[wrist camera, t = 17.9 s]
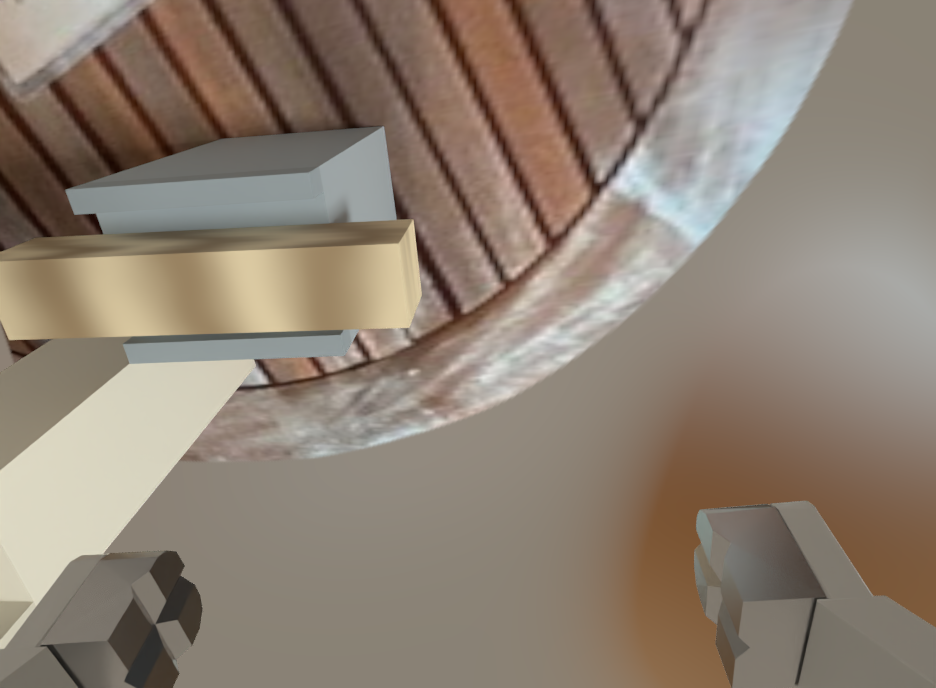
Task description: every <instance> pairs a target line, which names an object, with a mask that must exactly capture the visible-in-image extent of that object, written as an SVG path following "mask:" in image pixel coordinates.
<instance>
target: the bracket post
mask: <svg viewBox="0 0 936 688" xmlns="http://www.w3.org/2000/svg"><path fill="white" fill-rule="evenodd" d="M131 337H133V336H127V337H95V338H63V339H52V340H50V341H49V342H47V343H46V344H44V345H42V346H41V347H39V348H38V349H36V350H35V351H33V352H31V353H30V354H28V355H27V356H25V357H24V358H22V359H20V360H19V361H17V362H16V363H14V364H13V365H11V366H10V367H8V368H6V369H5V370H3V371H2V372H0V649H4V648H5V647H6V646H7V644H8V643H9V642H10V640H11V639H12V638H13V637H14V635H15V634H16V633H17V631H18V630H19V629H20V627H21V626H22V625H23V623H24V622H25V621H26V619H27V618H28V617H29V615H30V614H31V613H32V611H33V610H34V609H35V607H36V606H37V605H38V603H39V602H40V601H41V599H42V598H43V597H44V596H45V594H46V593H47V592H48V590H49V589H50V588H51V586H52V585H53V584H54V582H55V581H56V580H57V578H58V577H59V576H60V574H61V573H62V572H63V570H64V569H65V568H66V566H67V565H68V564H69V562H71V561H73V560H74V559H76V558H78V557H79V556H81V555H95V554H103V553H104V552H105V550H106V549H107V548H108V547H109V545H110V544H111V543H112V542H113V541H114V539H115V538H116V537H117V536H118V534H119V533H120V532H121V531H122V529H123V528H124V527H125V526H126V525H127V523H128V522H129V521H130V520H131V519H132V517H133V516H134V515H135V514H136V512H137V511H138V510H139V509H140V507H141V506H142V505H143V504H144V502H145V501H146V500H147V499H148V498H149V496H150V495H151V494H152V493H153V492H154V490H155V489H156V488H157V487H158V485H159V484H160V483H161V482H162V480H163V479H164V478H165V477H166V475H167V474H168V473H169V472H170V471H171V469H172V468H173V467H174V466H175V464H176V463H177V462H178V461H179V460H180V458H181V457H182V456H183V455H184V453H185V452H186V451H187V450H188V449H189V447H190V446H191V445H192V444H193V442H194V441H195V440H196V439H197V437H198V436H199V435H200V434H201V433H202V431H203V430H204V429H205V428H206V426H207V425H208V424H209V423H210V421H211V420H212V419H213V418H214V417H215V415H216V414H217V413H218V412H219V410H220V409H221V408H222V407H223V405H224V404H225V403H226V402H227V401H228V399H229V398H230V397H231V396H232V394H233V393H234V392H235V391H236V390H237V388H238V387H239V386H240V385H241V383H242V382H243V381H244V380H245V378H246V377H247V376H248V375H249V374H250V372H251V371H252V370H253V369H254V367H255V366H256V365H255V361H254V359H245V360H219V361H193V362H166V363H140V364H130V363H129V360H128V358H127V355H126V352H125V350H124V347H123V343H125V342H126V341H127V340H129V339H130V338H131Z"/></svg>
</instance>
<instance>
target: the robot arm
mask: <svg viewBox="0 0 936 688" xmlns="http://www.w3.org/2000/svg"><path fill="white" fill-rule="evenodd" d="M696 530H697V533H698V535H699V538H700V540H701V544H700V545H699V546H698V547H697V548H696V549H695V553H694V555H695V556H694V569H695V577H696V584H697V589H698V593H699V596H700V601H701V603H702V606H703V609H704V612H705V615H706V616H707V617H708V618H709V619H710V620H712V621H713V622H714V623H715V624H717V633H716V647H717V649H718V652H719V655H720V658H721V660H722V663H723V666H724V669H725V671H726V674H727V677H728V680H729V683H730V685H731V688H936V628H935V627H934V626H932V625H931V624H929V623H927V622H926V621H924V620H923V619H921V618H919V617H918V616H916V615H915V614H913V613H912V612H910V611H908V610H907V609H905V608H904V607H902V606H901V605H899V604H897V603H896V602H894V601H893V600H891V599H890V598H888V597H886V596H873V595H872V593H871V592H870V590H869V589H868V588H867V586H866V584H865V583H864V581H863V580H862V578H861V577H860V575H859V574H858V572H857V570H856V569H855V568H854V566H853V564H852V563H851V561H850V560H849V558H848V557H847V556H846V554H845V552H844V551H843V549H842V548H841V546H840V545H839V543H838V542H837V540H836V538H835V537H834V536H833V534H832V532H831V531H830V529H829V528H828V526H827V525H826V523H825V522H824V520H823V519H822V517H821V516H820V514H819V512H818V511H817V509H816V508H815V506H814V505H812V504H811V503H809V502H808V501H798V502H787V503H774V504H770V505H768V504H761V505H749V506H738V507H726V508H714V509H703V510H699V513H698V515H697V523H696ZM184 567H185V565H184V563H183V562H182V560H181V558H180V557H179V555H178V554H177V552H176V551H147V552H128V553H110V554H95V555H81V556H79V557H78V558H76V559H74V560H73V561H71V562H69V564H68V565H67V566H66V568H65V569H64V570H63V572H62V573H61V574H60V576H59V577H58V578H57V580H56V581H55V582H54V584H53V585H52V586H51V588H50V589H49V590H48V592H47V593H46V594H45V596H44V597H43V598H42V599H41V601H40V602H39V603H38V605H37V606H36V607H35V609H34V610H33V611H32V613H31V614H30V615H29V617H28V618H27V619H26V621H25V622H24V623H23V625H22V626H21V627H20V629H19V630H18V631H17V633H16V634H15V635H14V637H13V638H12V639H11V640H10V642H9V643H8V644H7V646H6V647H5V648H4V649H0V688H173V686H174V684H175V681H176V680H177V678H178V675H179V669H178V665H177V659H178V658H179V657H180V656H181V655H183V654H184V653H185V652H186V651H187V650H188V649H189V648H190V647H191V646H192V645H193V643H194V640H195V638H196V636H197V633H198V631H199V629H200V623H201V616H202V603H201V597H200V594H199V592H198V590H197V588H196V586H195V584H193V583H191V582H190V581H188V580H187V579H185V578H184V577H182V576H181V574H182V571H183V569H184Z"/></svg>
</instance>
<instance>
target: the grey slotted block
mask: <svg viewBox="0 0 936 688" xmlns="http://www.w3.org/2000/svg"><path fill="white" fill-rule="evenodd" d="M65 191H66V194H67V196H68V199H69V202H70V204H71V207H72V210H73V212H74V215H79V214H94V213H96V215H97V218H98V220H99V223H100V226H101V229H102V232H103V234H123V233H143V232H164V231H184V230H205V229H225V228H245V227H266V226H286V225H306V224H327V223H347V222H367V221H388V220H397V219H396V212H395V204H394V197H393V190H392V182H391V175H390V167H389V160H388V153H387V145H386V138H385V130H384V126H378V127H366V128H353V129H340V130H327V131H315V132H302V133H289V134H276V135H264V136H251V137H238V138H225V139H220V140H217V141H214V142H211V143H207V144H204V145H201V146H198V147H195V148H192V149H189V150H186V151H183V152H180V153H177V154H174V155H171V156H168V157H164V158H161V159H158V160H155V161H152V162H149V163H146V164H143V165H140V166H137V167H134V168H131V169H128V170H124V171H121V172H118V173H115V174H112V175H109V176H106V177H103V178H100V179H97V180H94V181H91V182H88V183H85V184H81V185H78V186H75V187H72V188H69V189H66V190H65ZM358 331H359V329H351V330H319V331H287V332H255V333H223V334H191V335H159V336H133V337H131V338H130V339H129V340H127V341H126V342H125V343H123V347H124V350H125V352H126V355H127V358H128V360H129V363H130V364H140V363H166V362H193V361H219V360H245V359H271V358H297V357H323V356H345V354H346V352H347V350H348V349H349V347H350V345H351V343H352V341H353V340H354V338H355V336H356V334H357V332H358Z"/></svg>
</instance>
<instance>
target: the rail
mask: <svg viewBox="0 0 936 688" xmlns="http://www.w3.org/2000/svg"><path fill="white" fill-rule="evenodd" d="M421 296H422V293H421V284H420V275H419V266H418V257H417V248H416V239H415V230H414V221H413V219H408V220H388V221H367V222H347V223H327V224H306V225H286V226H266V227H245V228H225V229H205V230H184V231H164V232H143V233H123V234H103V235H82V236H62V237H42V238H34V239H32V240H29V241H27V242H24V243H22V244H19V245H17V246H14V247H12V248H9V249H7V250H5V251H2V252H0V321H1V323H2V325H3V327H4V330H5V332H6V334H7V336H8V339H9V340H31V339H63V338H95V337H127V336H159V335H191V334H223V333H255V332H287V331H319V330H351V329H383V328H409V327H410V324H411V322H412V319H413V317H414V314H415V311H416V309H417V306H418V304H419V301H420V298H421Z"/></svg>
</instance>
